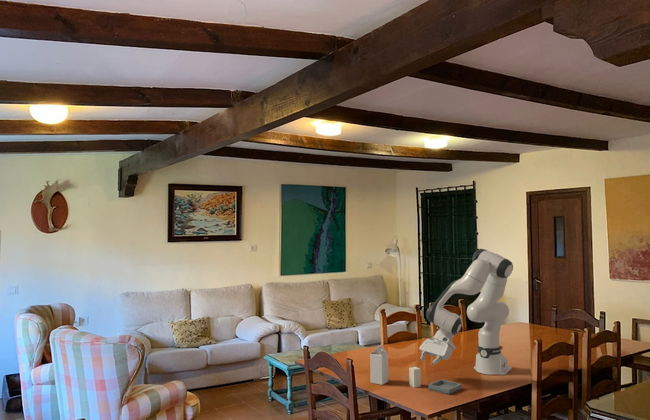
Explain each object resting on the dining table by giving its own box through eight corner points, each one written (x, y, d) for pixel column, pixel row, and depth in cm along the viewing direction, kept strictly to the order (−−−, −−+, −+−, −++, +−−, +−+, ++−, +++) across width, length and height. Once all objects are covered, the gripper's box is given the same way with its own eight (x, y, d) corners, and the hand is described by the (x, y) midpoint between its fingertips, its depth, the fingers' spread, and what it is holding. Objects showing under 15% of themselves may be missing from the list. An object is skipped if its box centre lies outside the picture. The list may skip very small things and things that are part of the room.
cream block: (415, 384, 254) (415, 366, 255) (420, 386, 251) (420, 368, 251) (409, 385, 253) (409, 367, 253) (414, 387, 249) (413, 369, 249)
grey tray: (441, 384, 254) (441, 379, 254) (462, 389, 246) (461, 384, 246) (428, 389, 246) (428, 384, 246) (449, 394, 237) (448, 389, 237)
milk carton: (370, 383, 257) (369, 346, 258) (376, 379, 263) (376, 343, 264) (382, 385, 253) (381, 348, 254) (388, 381, 259) (387, 345, 260)
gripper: (425, 333, 268) (411, 353, 263) (451, 340, 250) (436, 362, 245) (431, 340, 270) (418, 361, 265) (458, 348, 252) (444, 370, 247)
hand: (427, 361), depth 255 cm, fingers open, 8 cm apart
